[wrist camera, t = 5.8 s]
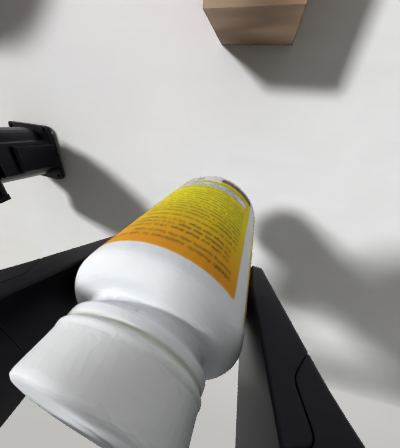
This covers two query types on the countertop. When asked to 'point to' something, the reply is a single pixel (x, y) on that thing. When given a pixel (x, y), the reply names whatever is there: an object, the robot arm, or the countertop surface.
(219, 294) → the supplement bottle
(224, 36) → the walnut block
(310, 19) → the countertop surface
